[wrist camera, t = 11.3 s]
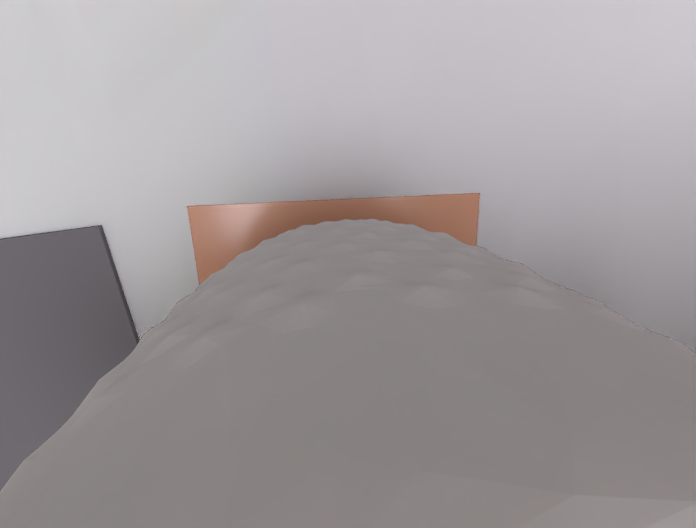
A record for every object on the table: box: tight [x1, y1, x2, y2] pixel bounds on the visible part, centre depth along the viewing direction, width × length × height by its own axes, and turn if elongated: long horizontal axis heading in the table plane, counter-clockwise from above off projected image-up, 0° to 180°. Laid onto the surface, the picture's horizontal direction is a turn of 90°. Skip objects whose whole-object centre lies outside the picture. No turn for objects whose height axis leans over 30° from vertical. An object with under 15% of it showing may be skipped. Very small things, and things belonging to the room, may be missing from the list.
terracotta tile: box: [187, 193, 480, 284], centre depth 16 cm, size 11×12×1 cm
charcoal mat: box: [0, 225, 139, 491], centre depth 15 cm, size 11×12×1 cm
